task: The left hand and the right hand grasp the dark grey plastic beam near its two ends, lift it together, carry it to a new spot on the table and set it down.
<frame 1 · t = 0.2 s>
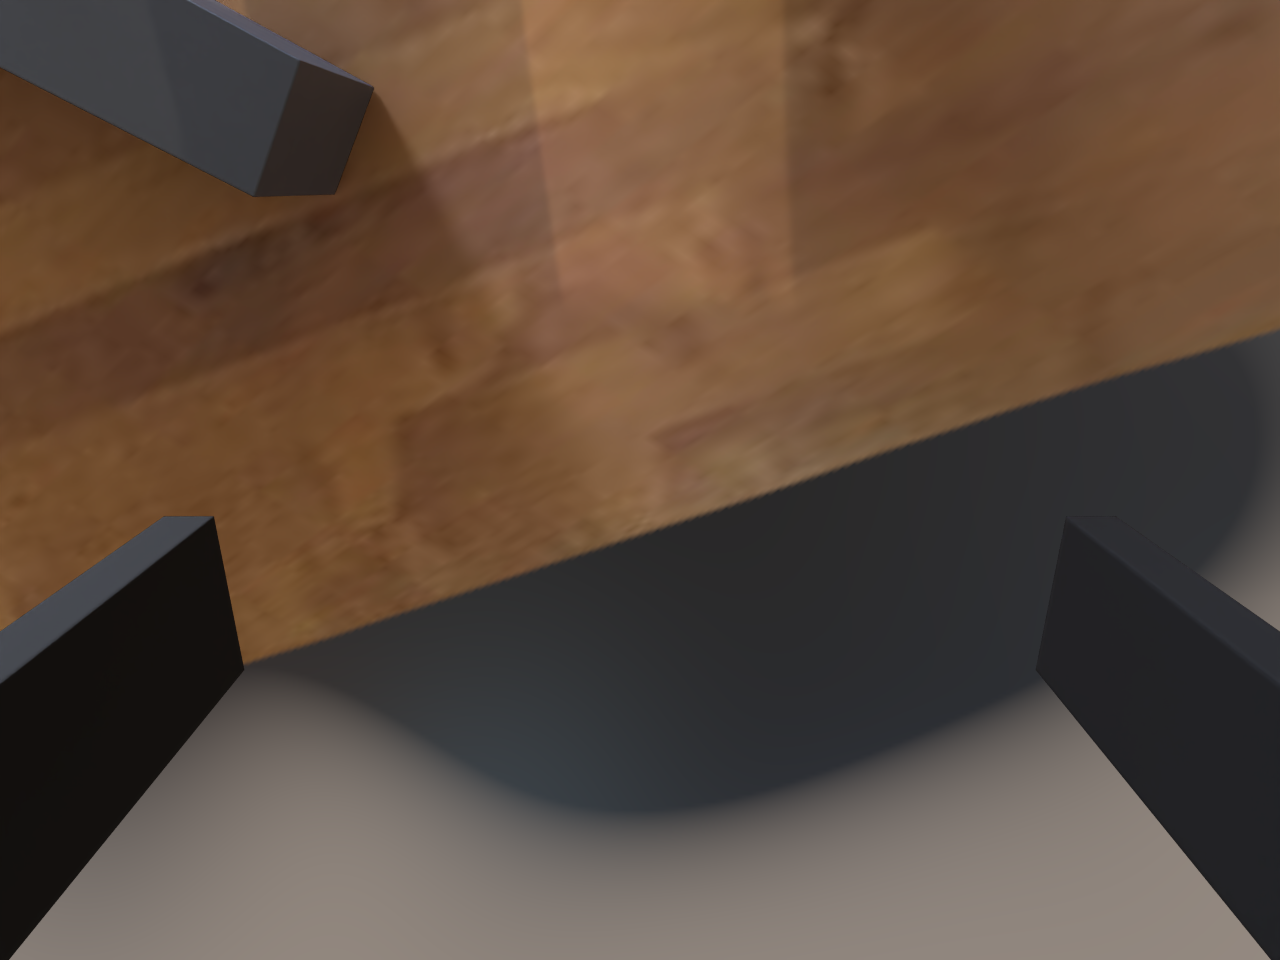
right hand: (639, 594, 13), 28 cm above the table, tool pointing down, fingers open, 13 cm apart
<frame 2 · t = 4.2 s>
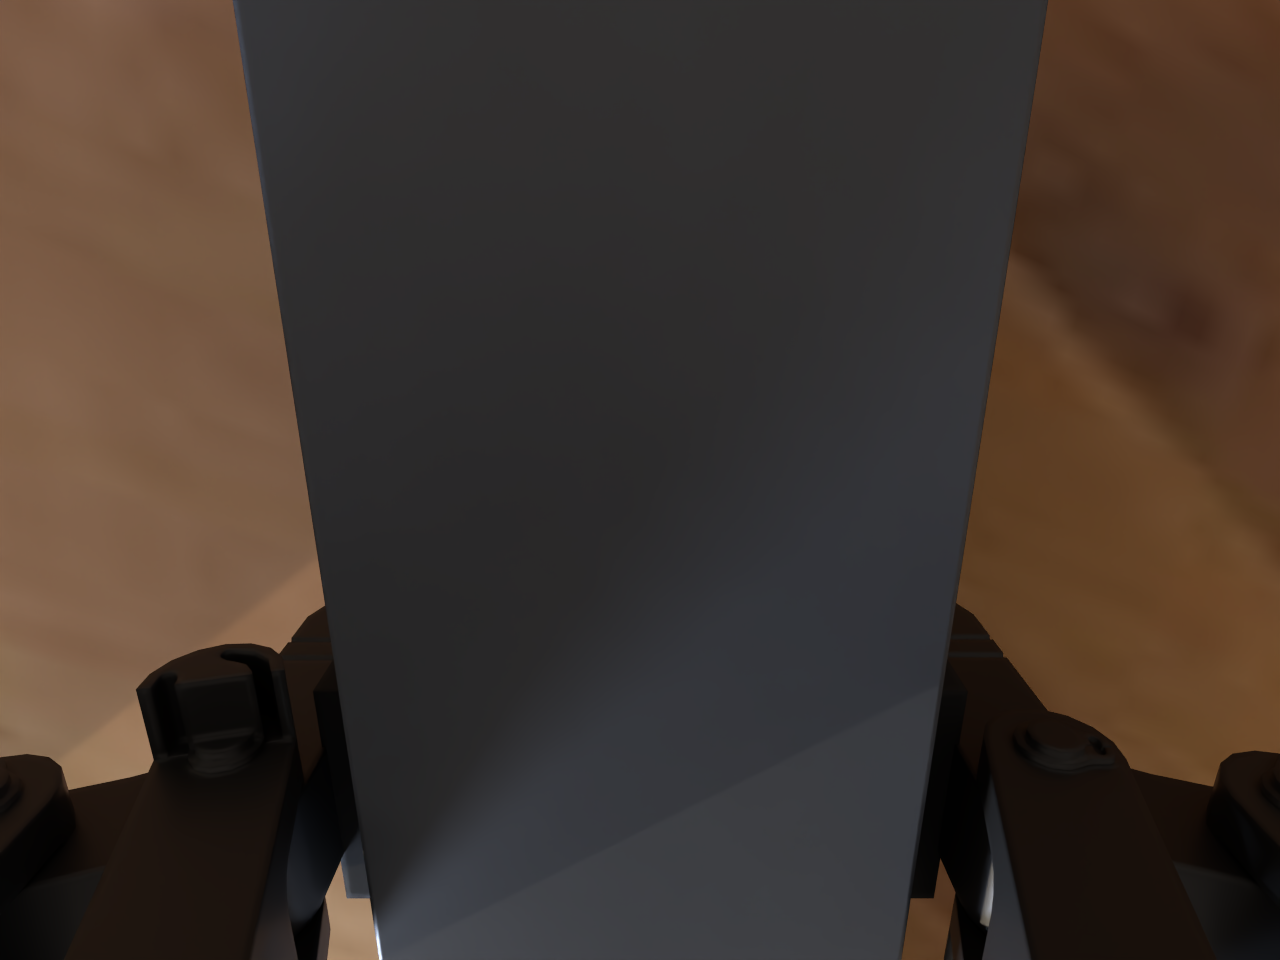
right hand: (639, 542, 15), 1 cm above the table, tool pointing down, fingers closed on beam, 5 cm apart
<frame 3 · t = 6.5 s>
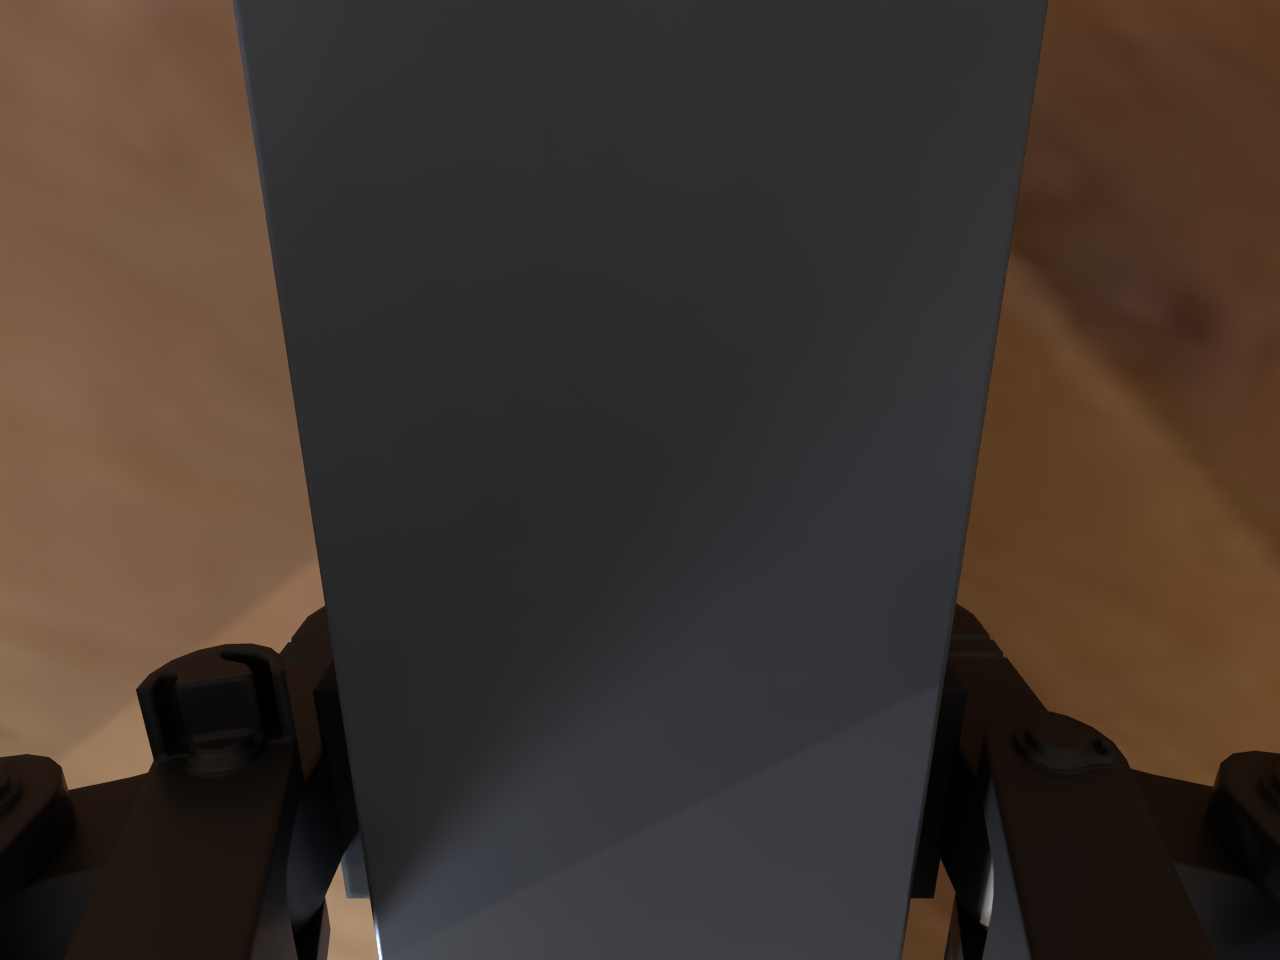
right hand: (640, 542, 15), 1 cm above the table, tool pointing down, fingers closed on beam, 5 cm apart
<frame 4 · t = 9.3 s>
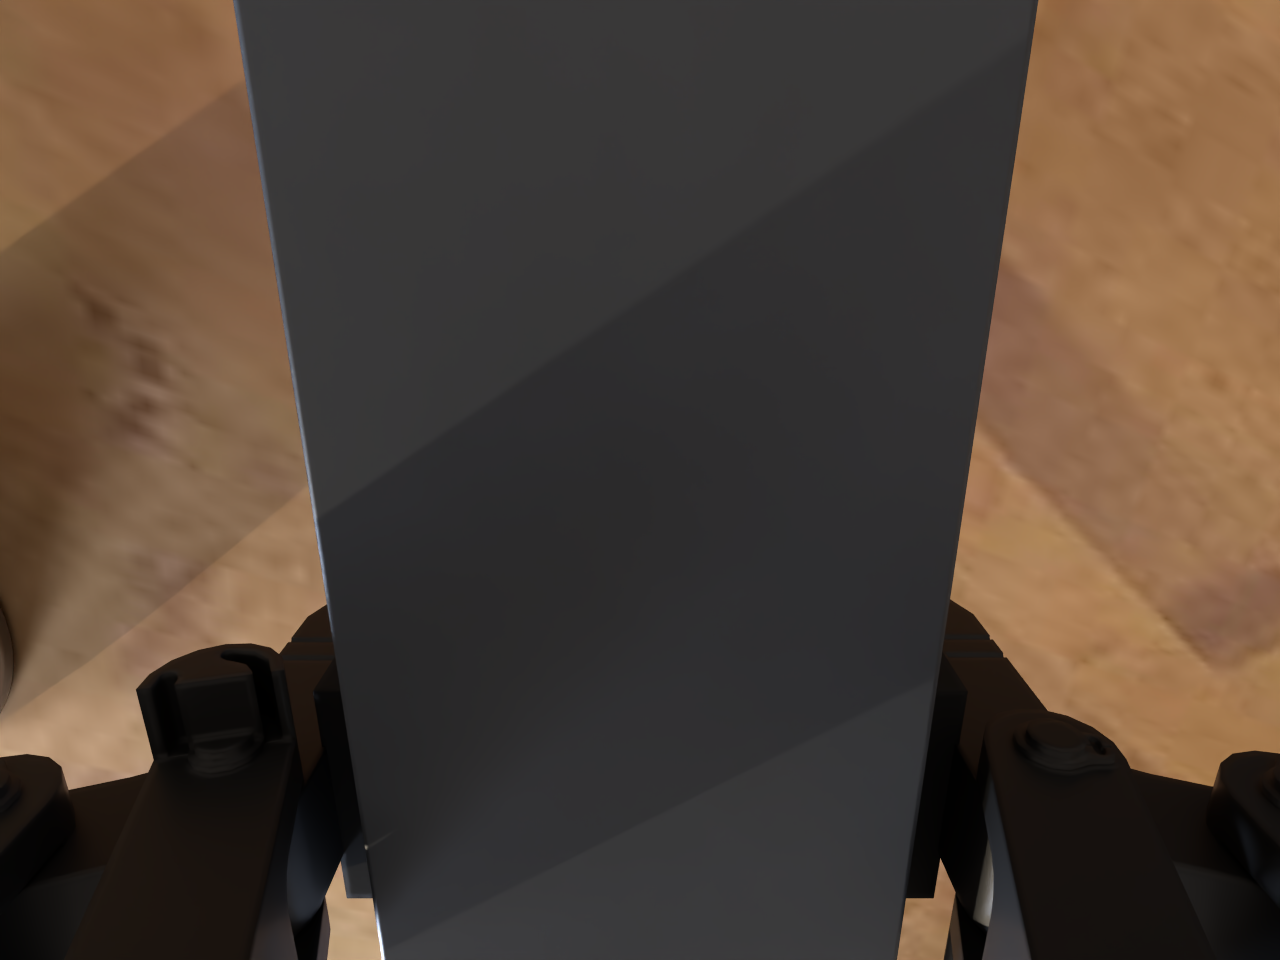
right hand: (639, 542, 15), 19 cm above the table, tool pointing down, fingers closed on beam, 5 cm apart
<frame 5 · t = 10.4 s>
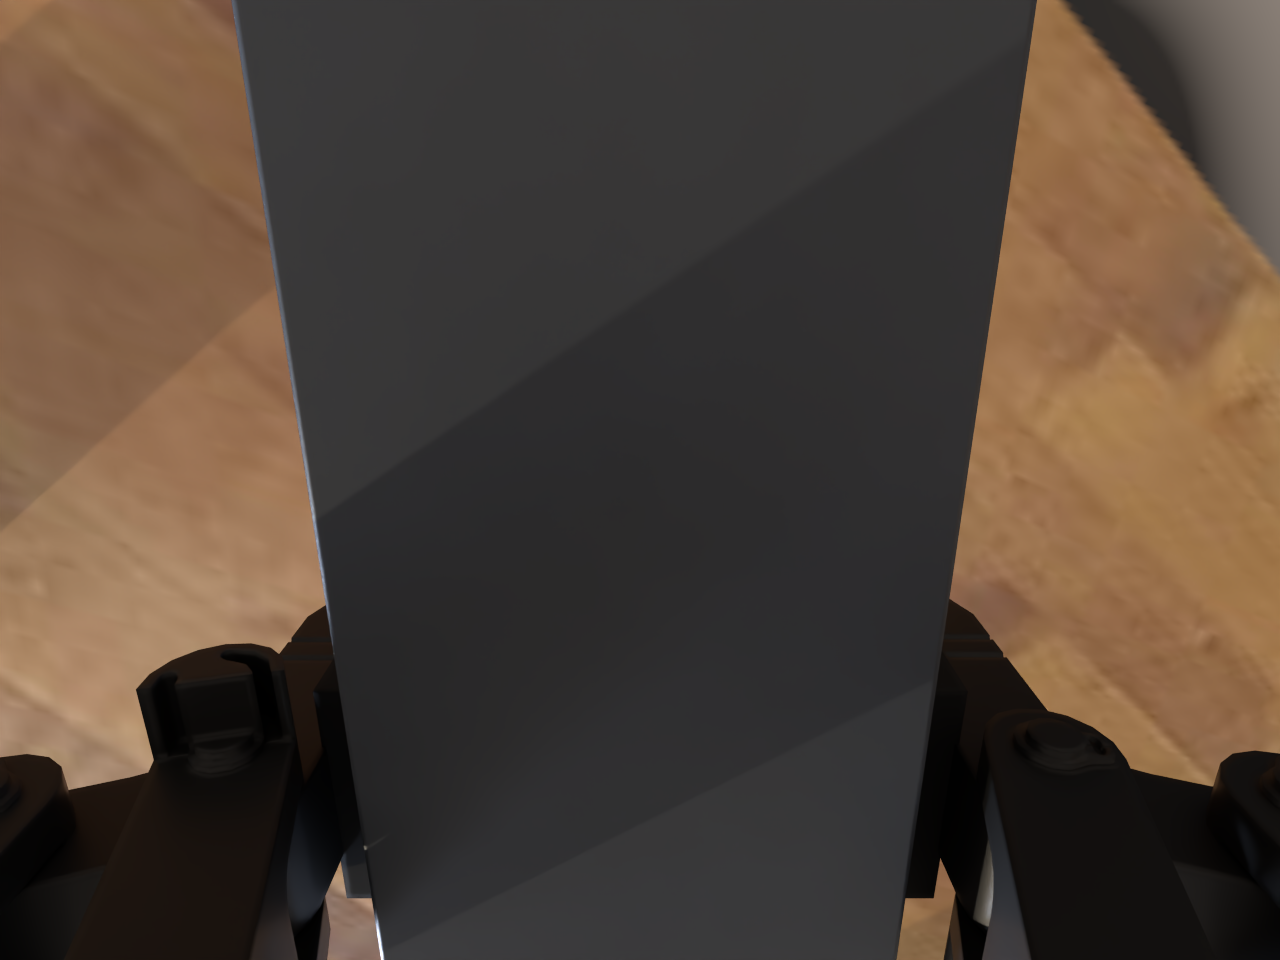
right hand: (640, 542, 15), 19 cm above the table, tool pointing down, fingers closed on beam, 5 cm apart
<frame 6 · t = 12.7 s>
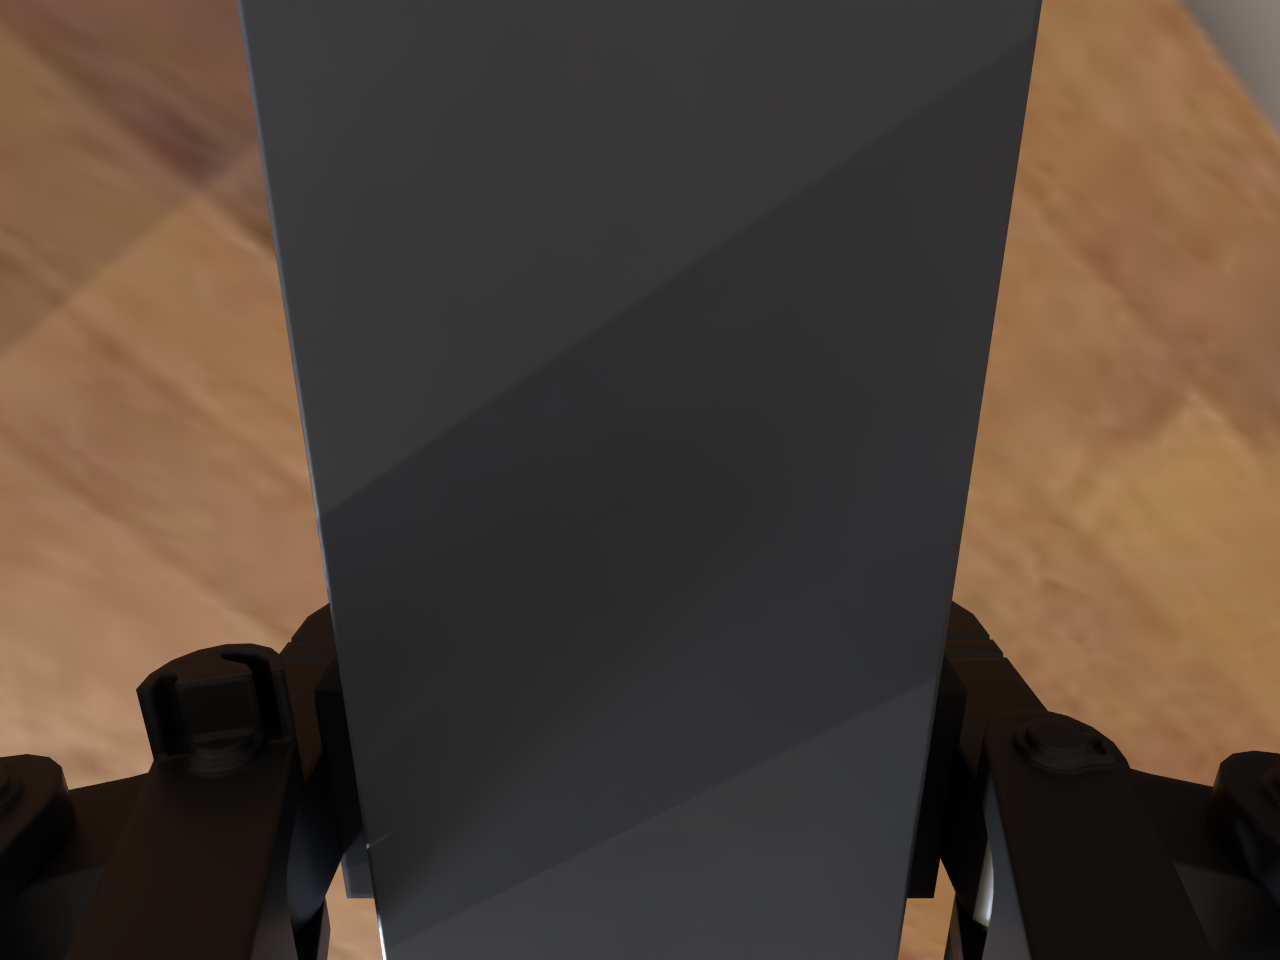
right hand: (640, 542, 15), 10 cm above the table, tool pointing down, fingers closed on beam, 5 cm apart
when the right hand's fingers open (2 cm above the table, at t = 14.4 s): beam drops 1 cm, on the table.
when the left hand's fingers open (5 cm above the table, at t = 14.6 s): beam stays where it is, on the table.
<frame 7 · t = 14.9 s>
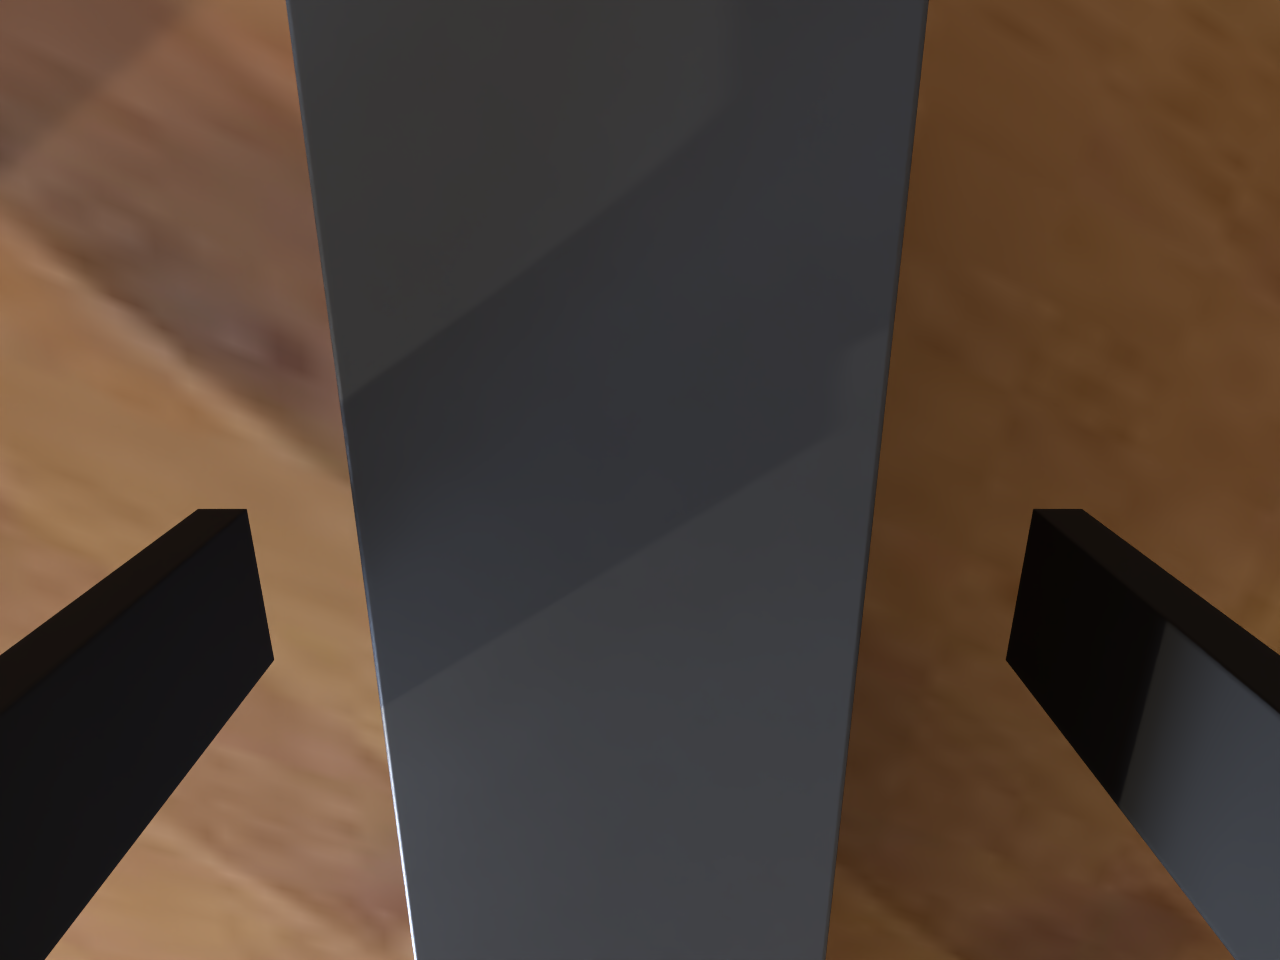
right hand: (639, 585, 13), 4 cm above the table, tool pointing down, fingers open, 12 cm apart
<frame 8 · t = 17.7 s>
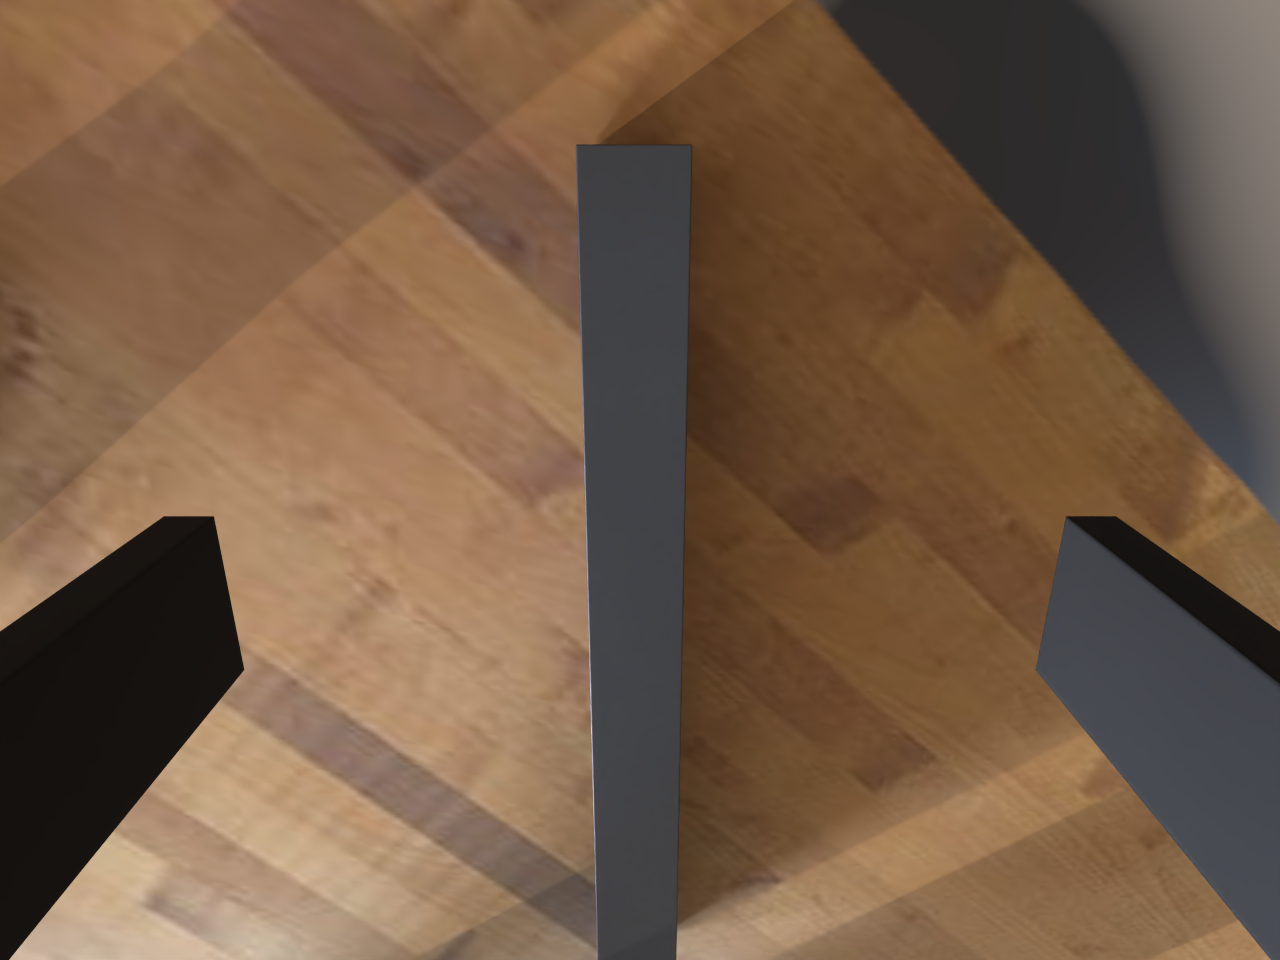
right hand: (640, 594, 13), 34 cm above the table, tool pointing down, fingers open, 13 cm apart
beam: (636, 612, 52), on the table
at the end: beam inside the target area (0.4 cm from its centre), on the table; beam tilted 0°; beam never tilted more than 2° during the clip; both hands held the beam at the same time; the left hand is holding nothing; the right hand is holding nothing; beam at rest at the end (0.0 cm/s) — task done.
